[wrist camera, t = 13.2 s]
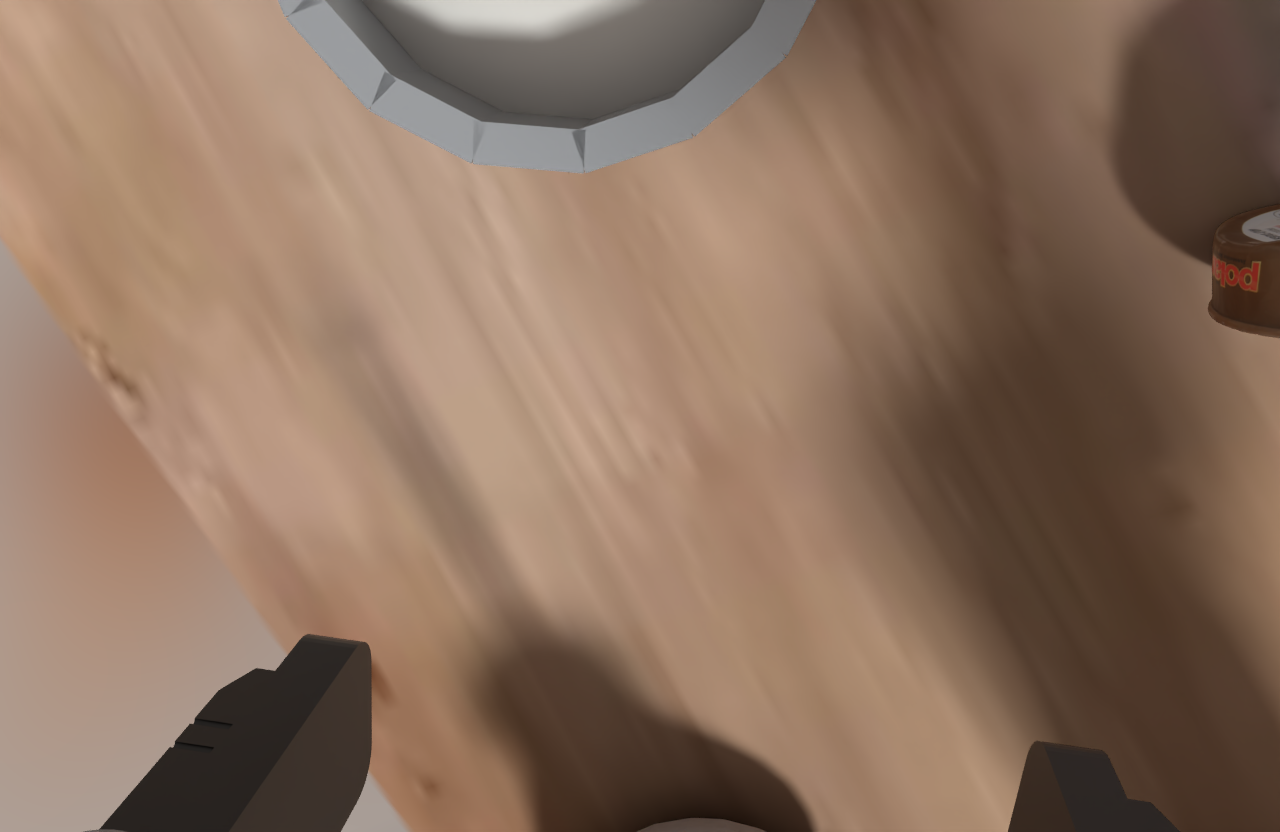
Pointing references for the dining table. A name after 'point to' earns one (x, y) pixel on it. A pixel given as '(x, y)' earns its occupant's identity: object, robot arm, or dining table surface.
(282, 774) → the robot arm
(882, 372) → the dining table surface
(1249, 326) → the tin
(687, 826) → the coffee pot
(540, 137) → the round tray
